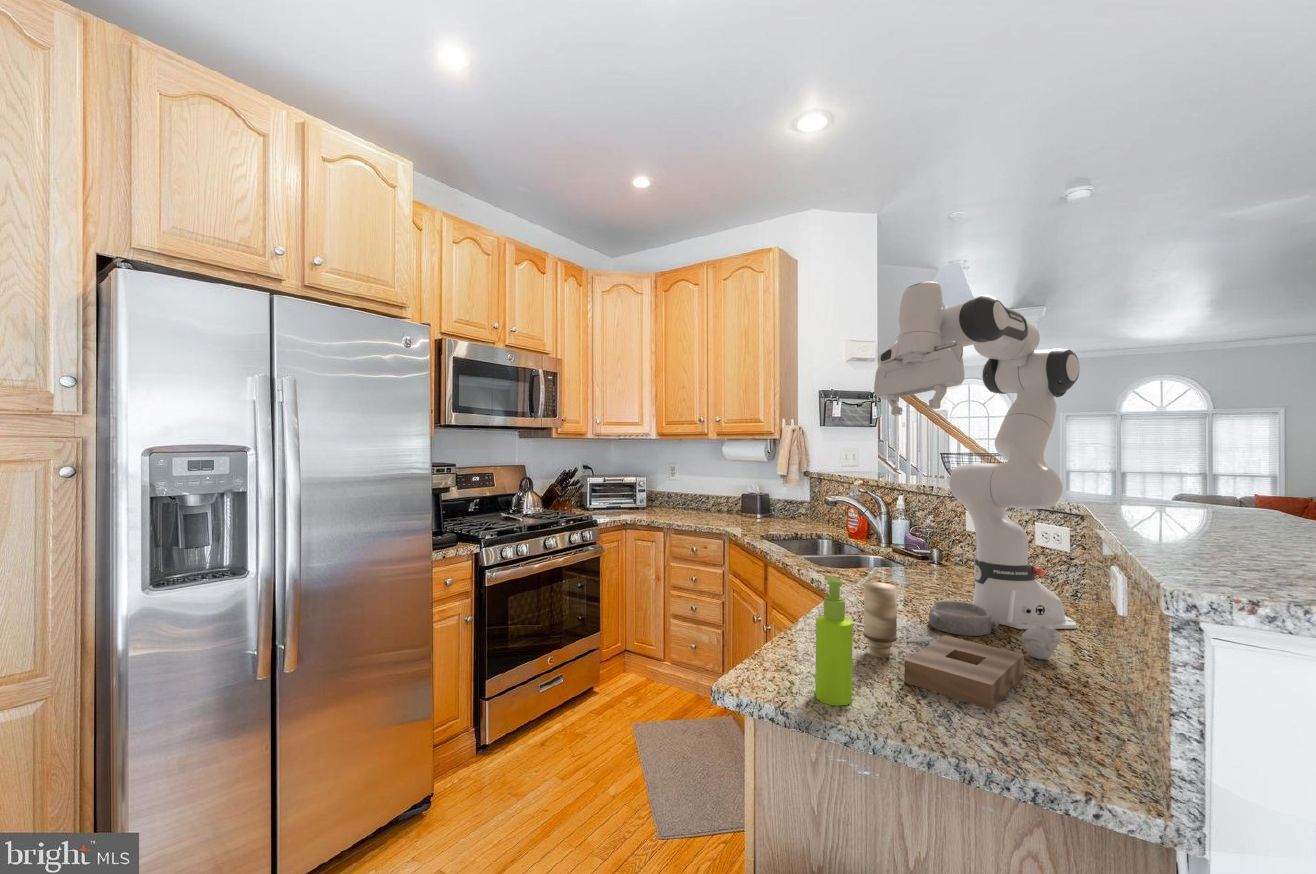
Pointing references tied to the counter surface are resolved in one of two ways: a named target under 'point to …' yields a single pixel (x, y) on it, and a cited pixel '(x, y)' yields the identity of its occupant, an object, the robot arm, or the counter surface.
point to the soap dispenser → (834, 649)
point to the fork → (900, 635)
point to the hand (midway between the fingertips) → (914, 411)
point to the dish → (961, 618)
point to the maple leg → (880, 617)
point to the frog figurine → (1041, 641)
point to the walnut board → (965, 670)
